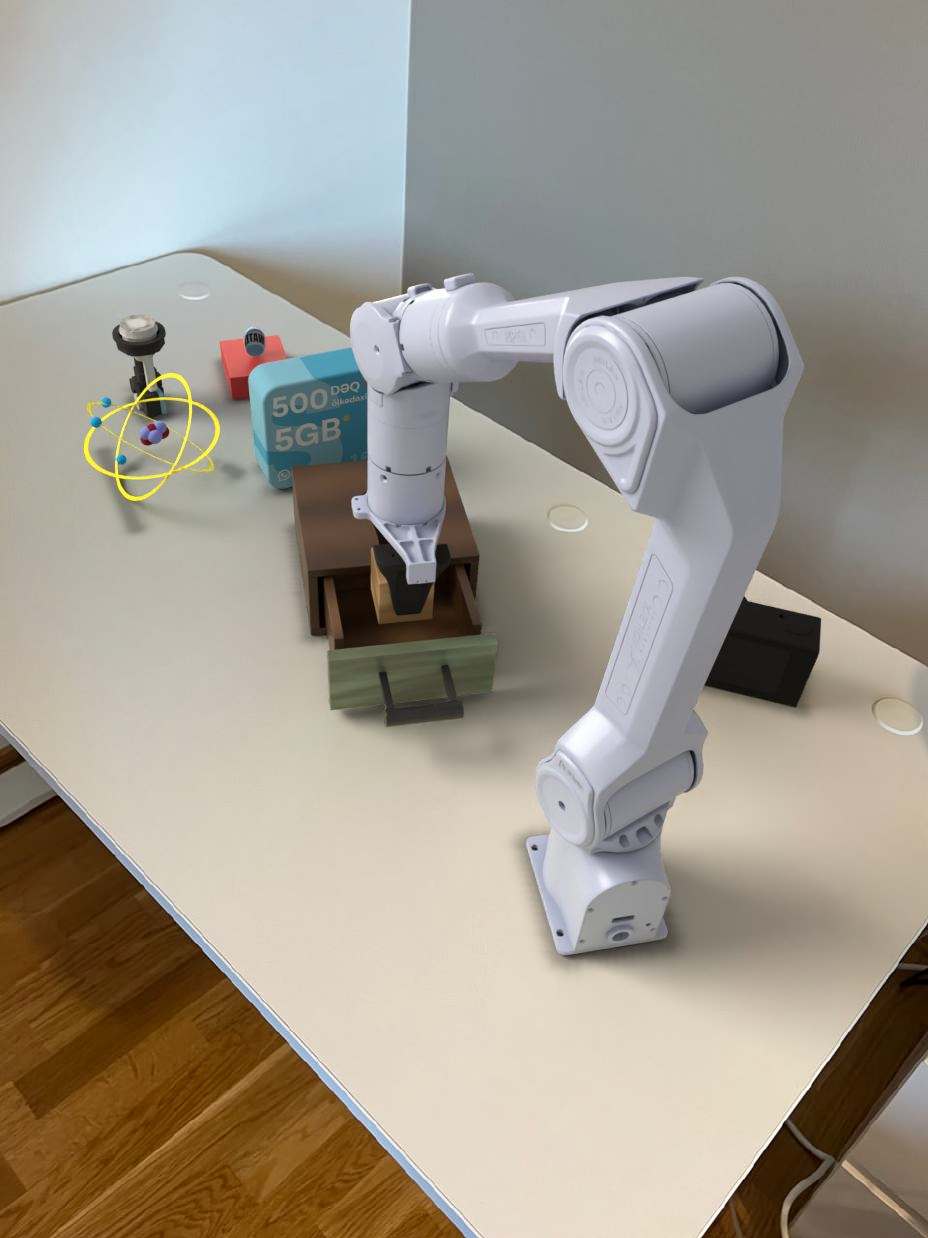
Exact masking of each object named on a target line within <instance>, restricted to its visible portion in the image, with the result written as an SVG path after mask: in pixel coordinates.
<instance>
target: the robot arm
mask: <svg viewBox="0 0 928 1238" xmlns="http://www.w3.org/2000/svg"><path fill="white" fill-rule="evenodd" d="M704 281H705V279H704V278H703V277H694V276H676V277H665V278H664V277H663V278H652V279H641V280H628V281H627V280H626V281H617V282H611V283H606V284H600V285H594V286H589V287H583V288H578V289H572V290H567V291H561V292H556V293H555V292H554V293H551V294H545V295H540V296H533V297H530V298H523V299H518V300H516V298H515V297H514V296H513V294H511V293H510V292H509V291H508V290H507V289H505V288H504V287H502V286H501V285H498V284H496V283H492V282H477V280H476V275H475V274H474V273H473V272H469V273H464V274H461V275H460V274H459V275H456V276H452V277H449V278H445V279H444V280H443V285H444V287H443V288H442V287H441V288H436V287H433V286H432V284H431V283H429V282H426V283H420V284H417V285H413V286H409V287H408V288H407V290H406V291H407V292H406V293H404V294H400V295H396V296H391V297H389V298H385V299H384V298H383V299H382V300H377V301H373V302H371V301H365V302H363V304H362V305H361V306H359V307H357V308H356V309H355V310H354V311H353V313H352V315H351V319H350V322H349V323H350V324H349V337H350V338H349V339H350V345H351V347H352V350H353V354H354V357H355V360H356V363H357V366H358V368H359V370H360V372H361V374H362V376H363V377H364V379H365V380H366V382H367V383H368V490H367V491H365V492H364V493H363V494H362V496H355V497H353V498H352V511H353V515H354V517H355V518H357V519H368V520H370V521H371V522H372V524H373V526H374V528H375V531H376V534H377V537H378V542H379V545H373V551H374V556H375V560H376V564H377V566H378V568H379V570H380V572H381V573H382V575H383V576H384V577H385V578H386V580H387V582H388V585H389V590H390V596H391V601H392V605H393V609H394V612H395V614H396V615H397V616H401V615H411V614H420V613H421V611H422V609H423V607H424V605H425V602H426V600H427V597H428V594H429V592H430V589H431V587H432V585H433V583H434V582H435V580H436V579H437V577H438V576H439V575H440V574H441V573H442V572H443V571H444V570H445V569H446V568H447V567H448V566H449V563H450V558H451V556H450V552H449V548H448V545H447V544H437V543H438V539H439V535H440V531H441V527H442V524H443V520H444V516H445V511H446V499H445V496H444V485H445V469H446V455H447V454H448V453H447V452H448V451H447V450H448V435H449V434H448V433H449V421H450V420H449V418H450V406H451V405H450V403H451V398H452V397H453V396H454V395H455V394H456V392H458V391H459V388H460V387H459V386H460V385H459V384H460V383H490V382H496V381H498V380H501V379H503V378H505V377H506V376H507V375H508V374H510V373H511V372H512V371H513V369H515V367H516V366H517V364H518V363H519V362H523V363H544V364H545V363H548V364H553V373H554V381H555V386H556V392H557V396H558V397H559V398H560V400H562V401H564V402H565V401H566V403H567V406H568V408H569V411H570V413H571V415H572V417H573V419H574V421H575V423H576V424H577V426H579V428H580V430H581V432H582V433H583V435H584V436H585V438H586V440H587V441H588V443H589V445H591V447H592V449H593V451H594V452H595V454H596V455H597V457H598V459H599V460H600V462H601V464H602V466H603V467H604V468H605V470H606V471H607V473H608V474H609V476H610V478H611V479H612V481H613V482H614V484H615V486H616V487H617V489H618V491H619V492H620V494H621V495H622V497H623V499H624V500H625V502H626V503H627V505H628V507H629V508H630V510H631V511H632V512H634V513H638V514H640V515H645V516H647V517H651V518H655V520H654V523H653V527H652V530H651V533H650V536H649V539H648V542H647V544H646V548H645V551H644V554H643V557H642V560H641V563H640V566H639V569H638V571H637V575H636V577H635V581H634V584H633V587H632V590H631V593H630V595H629V600H628V602H627V605H626V608H625V610H624V615H623V617H622V620H621V624H620V626H619V629H618V632H617V636H616V639H615V642H614V644H613V648H612V651H611V652H610V653H611V654H610V657H609V660H608V662H607V666H606V669H605V671H604V675H603V678H602V680H601V684H600V686H599V690H598V693H597V695H596V699H595V702H594V704H593V706H591V708H590V709H588V711H587V712H586V713H585V714H583V716H581V717H580V718H579V719H578V720H577V721H576V722H575V723H574V724H573V725H571V726H570V728H568V729H567V731H566V732H565V733H563V735H561V736H560V737H559V738H558V739H557V741H556V742H555V743H556V744H555V746H554V749H553V752H551V754H549V755H547V756H544V757H543V758H542V759H540V760H539V762H538V764H537V765H536V769H535V781H534V786H535V793H536V798H537V802H538V804H539V807H540V809H541V811H542V813H543V815H544V817H545V819H546V820H547V821H548V824H549V825H550V830H549V833H547V834H540V835H533V836H529V837H528V838H527V839H526V841H525V842H526V843H525V847H526V850H527V853H528V857H529V860H530V864H531V868H532V871H533V874H534V878H535V882H536V884H537V887H538V891H539V895H540V898H541V901H542V905H543V908H544V912H545V915H546V918H547V923H548V926H549V929H550V933H551V935H552V939H553V942H554V946H555V950H556V951H557V953H558V954H559V955H561V956H570V955H576V954H583V953H589V952H595V951H601V950H607V949H613V948H619V947H626V946H631V945H637V944H642V943H649V942H655V941H660V940H665V939H666V938H667V936H668V933H669V931H668V927H667V925H666V921H665V919H664V914H665V912H666V910H667V907H668V904H669V901H670V899H671V895H672V889H671V884H670V881H669V879H668V875H667V872H666V870H665V867H664V863H663V857H662V849H661V848H662V847H661V846H662V845H661V844H662V834H663V828H664V824H665V821H666V818H667V814H668V812H669V810H670V809H671V808H673V807H674V805H675V802H676V799H677V797H679V796H681V795H682V794H686V793H689V792H691V791H693V790H694V789H696V788H697V787H698V786H699V785H700V783H701V781H702V779H703V776H704V758H703V749H704V744H705V742H706V739H707V737H708V735H709V731H708V729H707V727H706V725H705V723H704V722H703V721H702V719H701V717H700V716H699V715H698V714H697V712H696V711H695V707H696V705H697V702H698V700H699V698H700V696H701V693H702V691H703V688H705V685H704V684H705V682H706V680H707V678H708V676H709V673H710V671H711V669H712V667H713V664H714V662H715V660H716V658H717V655H718V653H719V651H720V649H721V646H722V644H723V642H724V640H725V637H726V635H727V633H728V631H729V629H730V626H731V624H732V622H733V620H734V617H735V615H736V613H737V611H738V608H739V606H740V604H741V602H742V599H743V597H744V596H745V595H746V593H747V591H748V589H749V586H750V584H751V582H752V580H753V578H754V575H755V573H756V570H757V568H758V566H759V564H760V561H761V559H762V557H763V555H764V552H765V551H766V548H767V546H768V543H769V541H770V539H771V537H772V534H773V532H774V531H775V528H776V526H777V523H778V519H779V516H780V515H779V514H780V512H781V511H780V510H781V500H782V499H781V497H782V492H781V491H782V474H783V473H782V470H783V469H782V468H783V445H784V444H783V441H784V419H785V416H786V413H787V412H788V409H789V407H790V404H791V402H792V399H793V398H794V394H795V392H796V389H797V387H798V385H799V383H800V380H801V377H802V375H803V373H804V371H805V363H804V361H803V358H802V355H801V353H800V351H799V348H798V345H797V343H796V341H795V337H794V336H793V333H792V330H791V328H790V325H789V323H788V320H787V317H786V315H785V313H784V311H783V309H782V307H781V306H780V304H779V302H778V301H777V299H776V298H775V297H774V296H773V294H772V293H771V291H769V290H768V289H766V287H765V286H763V285H762V284H760V283H759V282H758V281H756V280H753V279H750V278H749V277H744V276H729V277H724V278H721V279H719V280H716V281H714V282H711V283H710V284H709V285H707V286H706V287H703V288H700V289H698V288H699V287H700V285H701V284H702V283H704ZM533 848H534V849H536V850H534V849H533ZM558 933H560V934H562V936H559V935H558Z"/></svg>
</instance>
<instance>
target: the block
mask: <svg viewBox="0 0 928 1238" xmlns="http://www.w3.org/2000/svg"><path fill="white" fill-rule="evenodd" d="M371 591H372V596H373V600H374V605H375V610H376V614H377V619H378V623H379V624H386V623H396V622H406V621H416V620H426V619H432V615H433V599H434V583H433V585H432V587H431V589H430V592H429V594H428V597H427V600H426V602H425V605H424V607H423V609H422V611H421V613H420V614H411V615H401V616H397V615H396V614H395V612H394V609H393V605H392V601H391V596H390V590H389V585H388V582H387V580H386V578H385V577H384V576H383V575H382V573H381V572H380V570H379V568H378V566H377V564H376V560H375V556H374V551H373V548H371Z"/></svg>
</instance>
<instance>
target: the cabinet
mask: <svg viewBox="0 0 928 1238" xmlns="http://www.w3.org/2000/svg"><path fill="white" fill-rule="evenodd" d="M291 470H292V486H293V487H292V500H293V501H292V503H293V517H294V518H293V520H294V532H295V539H296V546H297V552H298V559H299V566H300V571H301V578H302V584H303V591H304V599H305V605H306V612H307V619H308V625H309V632H310V636H319V635H327V630H326V624H325V618H324V612H323V606H322V600H321V593H320V577H322V576H333V575H344V574H355V573H366V572H371V548H373V545H379V542H378V537H377V534H376V531H375V528H374V526H373V524H372V522H371V521H370V520H368V519H357V518H355V517H354V515H353V511H352V498H353V497H355V496H362V494H363V493H364V492H365V491H367V490H368V461H358V462H344V463H330V464H316V465H301V466H292V467H291ZM454 475H455V474H454V473H453V470H452V467H451V463H450V460H449V458H448V455H447V454H446V469H445V485H444V496H445V499H446V511H445V516H444V520H443V524H442V527H441V531H440V535H439V539H438V543H437V544H447V545H448V548H449V552H450V556H451V558H450V563H449V565H455V564H464V568H465V571H466V574H467V577H468V580H469V584H470V587H471V590H472V593H473V597H474V600H475V601H476V598H477V589H478V581H479V580H478V579H479V571H480V569H479V568H480V558H481V555H480V552H479V548H478V545H477V542H476V539H475V536H474V533H473V529H472V527H471V524H470V521H469V518H468V515H467V513H466V512H467V511H466V509H465V506H464V503H463V500H462V497H461V494H460V490H459V488H458V485H457V482H456V479H455V476H454Z"/></svg>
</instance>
